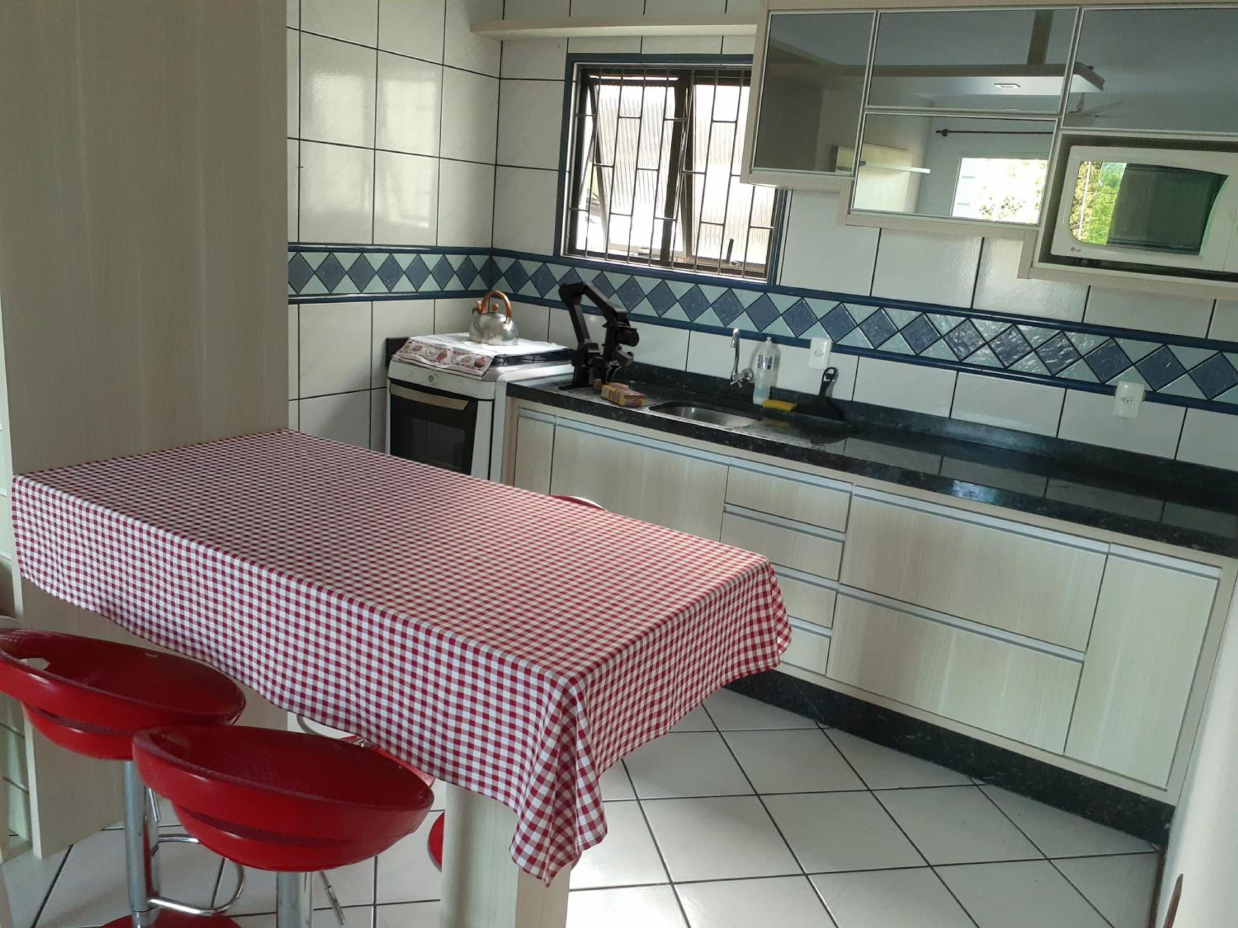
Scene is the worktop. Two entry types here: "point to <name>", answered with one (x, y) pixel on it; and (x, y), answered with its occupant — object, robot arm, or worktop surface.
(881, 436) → the worktop surface
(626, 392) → the candy box
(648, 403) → the charcoal rubber mat
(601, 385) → the tan rectangular block
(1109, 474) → the worktop surface
